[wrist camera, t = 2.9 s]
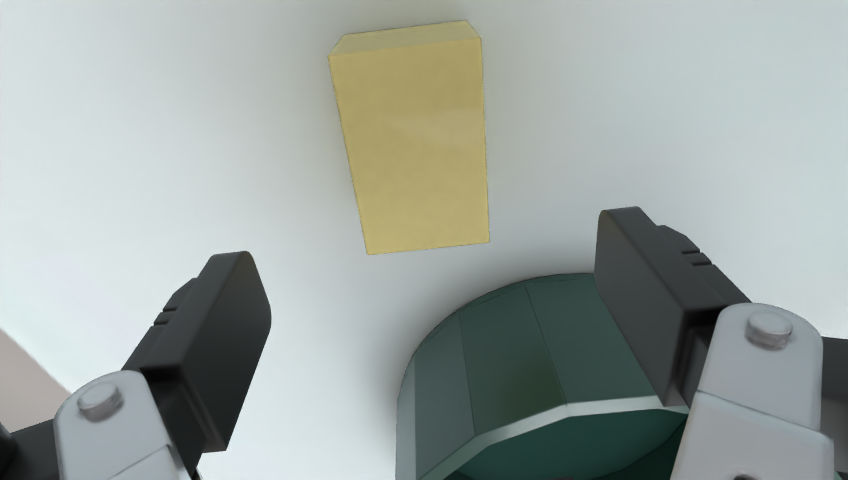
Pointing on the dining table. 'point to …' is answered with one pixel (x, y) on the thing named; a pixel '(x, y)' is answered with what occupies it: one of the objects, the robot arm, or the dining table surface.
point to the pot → (533, 393)
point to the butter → (415, 134)
